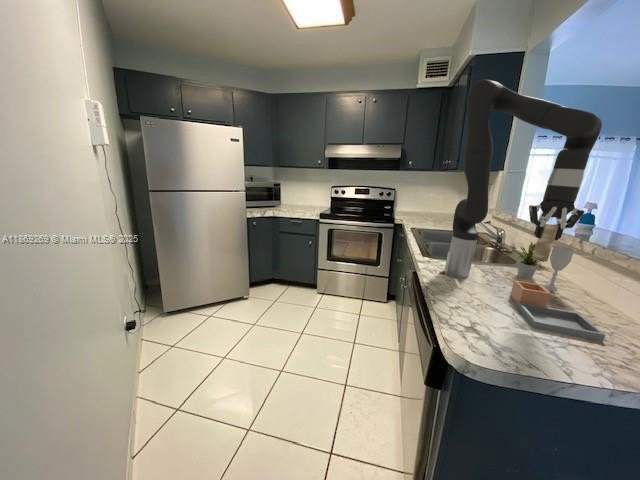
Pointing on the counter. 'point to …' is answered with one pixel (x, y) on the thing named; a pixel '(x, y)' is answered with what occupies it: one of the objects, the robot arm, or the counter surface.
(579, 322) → the tray
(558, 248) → the chalice
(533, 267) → the house plant
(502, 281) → the counter surface
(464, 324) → the counter surface
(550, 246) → the peg
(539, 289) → the terracotta open box
